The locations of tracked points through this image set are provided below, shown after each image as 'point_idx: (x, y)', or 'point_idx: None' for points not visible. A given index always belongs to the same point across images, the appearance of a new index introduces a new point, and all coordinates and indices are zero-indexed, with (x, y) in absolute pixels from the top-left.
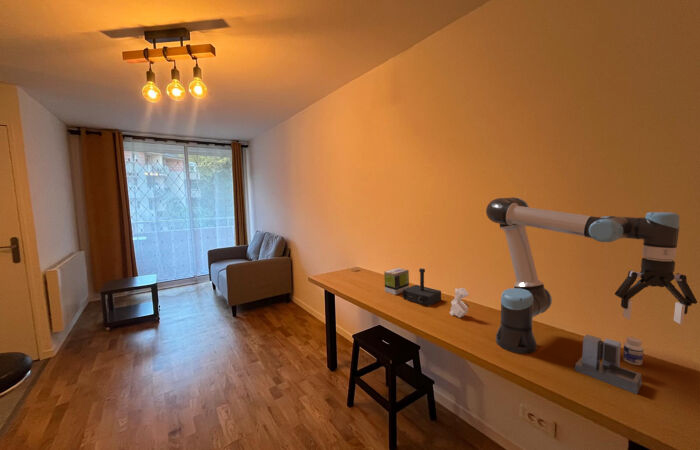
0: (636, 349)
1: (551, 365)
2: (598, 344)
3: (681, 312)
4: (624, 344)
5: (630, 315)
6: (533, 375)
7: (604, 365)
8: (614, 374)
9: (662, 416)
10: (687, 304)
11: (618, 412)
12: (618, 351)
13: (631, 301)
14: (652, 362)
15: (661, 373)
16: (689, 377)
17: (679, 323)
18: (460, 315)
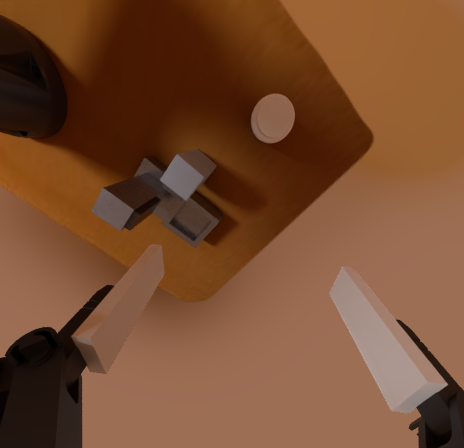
0: (265, 142)
1: (96, 176)
2: (127, 226)
3: (359, 350)
4: (252, 112)
5: (156, 286)
6: (68, 214)
7: None
8: (172, 229)
9: (204, 272)
10: (418, 434)
11: None
12: (193, 192)
13: (106, 367)
14: (313, 118)
15: (289, 169)
16: (333, 175)
17: (330, 293)
18: None
